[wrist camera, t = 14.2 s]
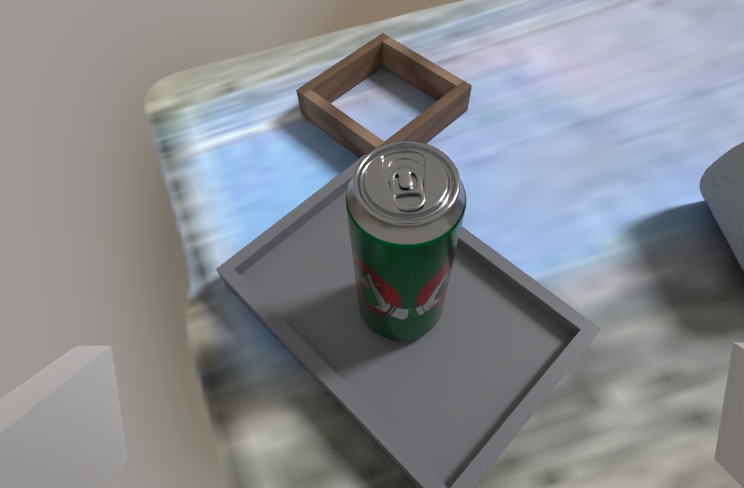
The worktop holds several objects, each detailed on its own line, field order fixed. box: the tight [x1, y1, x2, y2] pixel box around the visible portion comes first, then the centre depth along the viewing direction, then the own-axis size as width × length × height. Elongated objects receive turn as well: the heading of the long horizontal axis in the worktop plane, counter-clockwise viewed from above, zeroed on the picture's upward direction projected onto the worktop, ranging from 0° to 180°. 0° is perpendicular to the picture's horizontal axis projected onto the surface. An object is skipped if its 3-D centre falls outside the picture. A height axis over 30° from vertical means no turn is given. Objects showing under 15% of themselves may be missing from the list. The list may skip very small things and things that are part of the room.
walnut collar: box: [296, 33, 472, 158], centre depth 39 cm, size 10×10×2 cm
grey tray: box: [216, 155, 601, 488], centre depth 30 cm, size 19×13×2 cm
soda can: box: [346, 141, 466, 341], centre depth 25 cm, size 5×5×12 cm
